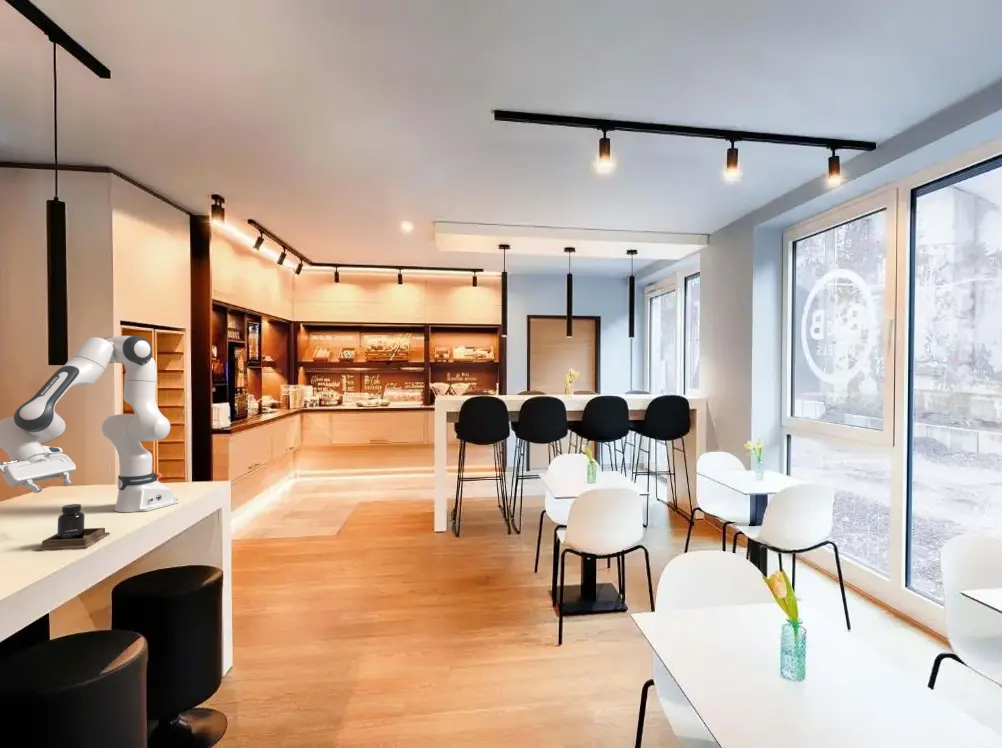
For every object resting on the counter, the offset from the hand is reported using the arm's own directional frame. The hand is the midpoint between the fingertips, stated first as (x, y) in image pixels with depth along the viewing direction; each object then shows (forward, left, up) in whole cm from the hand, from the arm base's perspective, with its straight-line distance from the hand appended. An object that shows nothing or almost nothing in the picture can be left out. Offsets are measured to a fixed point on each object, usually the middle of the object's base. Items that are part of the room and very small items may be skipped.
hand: (53, 488), depth 172 cm
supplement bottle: (-2, +9, -17) cm, 19 cm away
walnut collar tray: (-3, +9, -18) cm, 20 cm away
